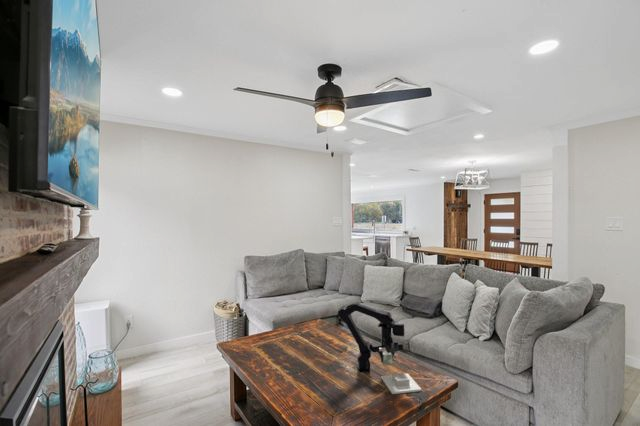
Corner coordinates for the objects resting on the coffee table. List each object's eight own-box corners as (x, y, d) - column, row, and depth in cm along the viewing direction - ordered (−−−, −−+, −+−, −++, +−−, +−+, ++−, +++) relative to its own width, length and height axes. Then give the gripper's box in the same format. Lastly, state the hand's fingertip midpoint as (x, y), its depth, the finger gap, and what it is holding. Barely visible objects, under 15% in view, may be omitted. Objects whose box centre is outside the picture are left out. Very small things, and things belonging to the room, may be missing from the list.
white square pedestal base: (392, 394, 162) (392, 386, 162) (381, 377, 178) (381, 370, 178) (421, 390, 165) (421, 383, 165) (407, 375, 181) (407, 368, 181)
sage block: (384, 365, 181) (383, 355, 181) (380, 361, 186) (380, 351, 186) (392, 365, 182) (392, 354, 181) (389, 360, 186) (388, 350, 186)
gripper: (375, 341, 174) (375, 369, 174) (407, 338, 177) (407, 366, 177) (369, 333, 185) (369, 360, 185) (399, 331, 188) (399, 357, 188)
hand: (386, 361), depth 184 cm, fingers closed on sage block, 5 cm apart
